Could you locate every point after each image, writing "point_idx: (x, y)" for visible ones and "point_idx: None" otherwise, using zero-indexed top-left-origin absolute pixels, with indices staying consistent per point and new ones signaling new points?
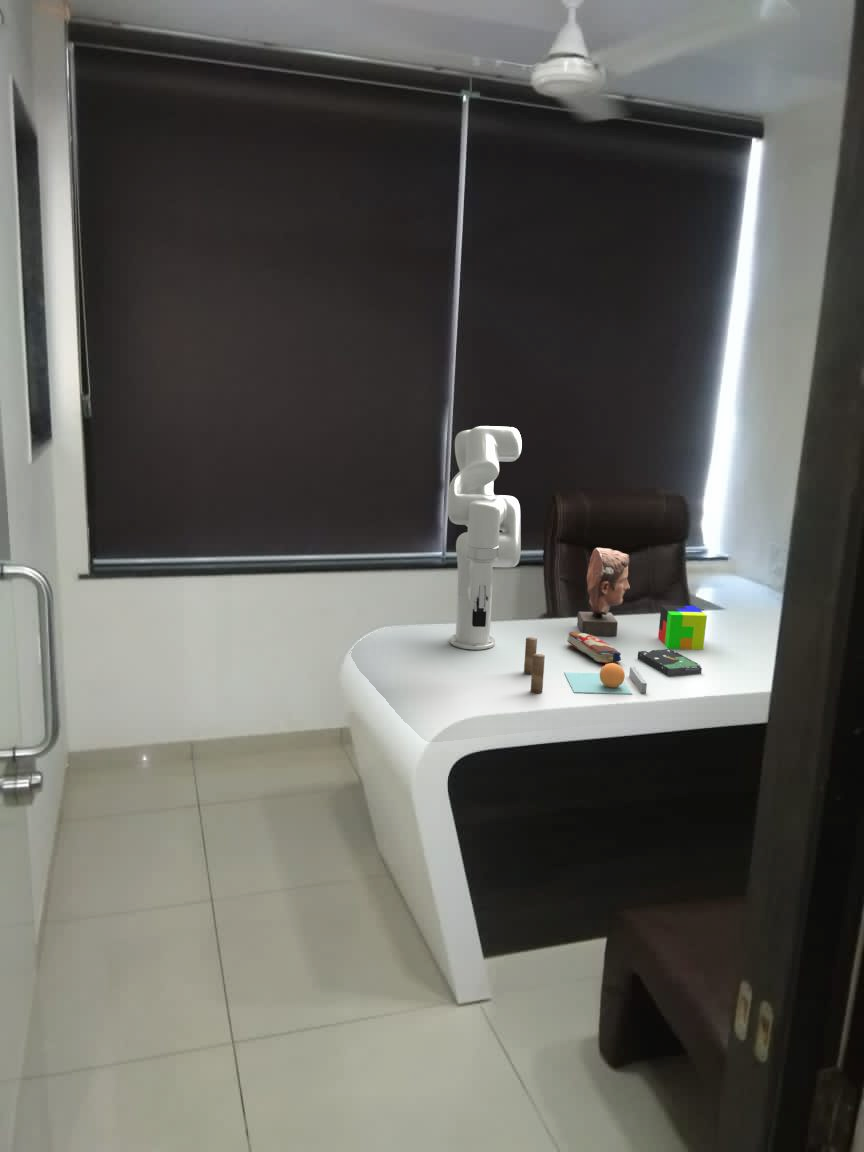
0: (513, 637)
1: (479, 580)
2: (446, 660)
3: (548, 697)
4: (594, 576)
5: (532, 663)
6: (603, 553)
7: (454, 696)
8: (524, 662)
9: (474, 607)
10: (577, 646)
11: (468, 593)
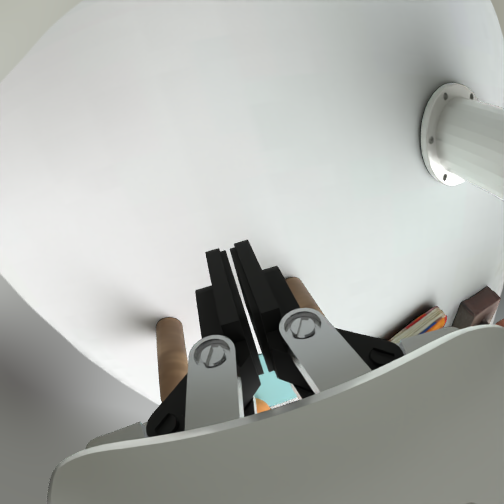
0: (472, 211)
1: None
2: (341, 68)
3: (146, 349)
4: None
5: (167, 372)
6: None
7: (40, 163)
8: (299, 293)
9: (226, 359)
10: (407, 330)
11: (342, 418)
